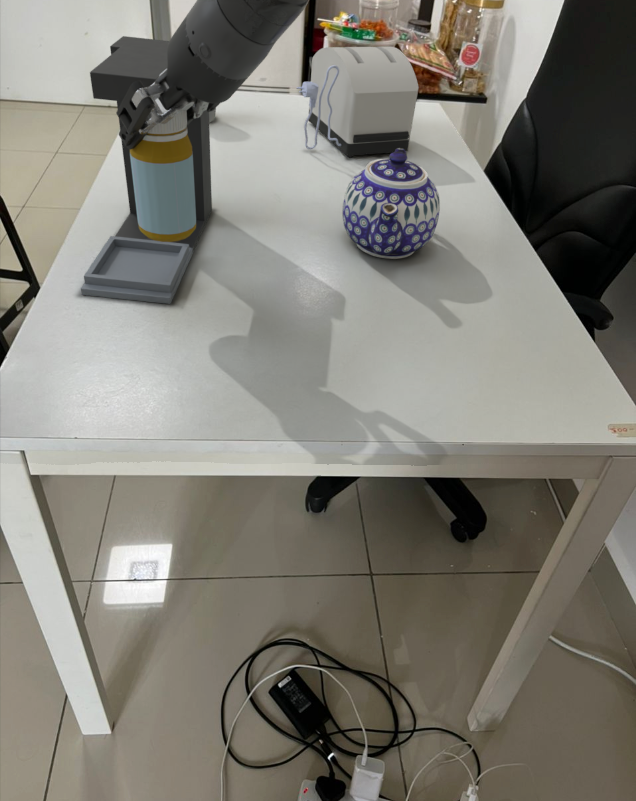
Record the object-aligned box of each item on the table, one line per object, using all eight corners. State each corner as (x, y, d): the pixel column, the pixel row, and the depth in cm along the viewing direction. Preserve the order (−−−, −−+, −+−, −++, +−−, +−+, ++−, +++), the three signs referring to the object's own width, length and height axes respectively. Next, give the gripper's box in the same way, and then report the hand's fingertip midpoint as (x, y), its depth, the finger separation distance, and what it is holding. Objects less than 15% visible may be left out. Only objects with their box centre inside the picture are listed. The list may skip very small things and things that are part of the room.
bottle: (158, 249, 76) (145, 118, 66) (128, 226, 80) (112, 99, 70) (207, 234, 80) (202, 108, 70) (177, 213, 84) (168, 90, 74)
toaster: (412, 156, 134) (429, 65, 123) (301, 165, 126) (308, 68, 114) (364, 118, 150) (375, 34, 138) (262, 124, 141) (264, 35, 130)
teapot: (353, 205, 114) (363, 118, 104) (436, 219, 112) (455, 132, 103) (324, 273, 95) (333, 176, 86) (423, 291, 94) (445, 194, 84)
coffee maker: (170, 304, 86) (153, 104, 69) (81, 294, 86) (43, 92, 69) (212, 210, 108) (206, 41, 91) (140, 202, 108) (122, 32, 91)
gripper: (253, -5, 64) (178, 92, 77) (142, 11, 55) (78, 117, 68) (291, 64, 66) (211, 148, 78) (189, 91, 57) (117, 181, 69)
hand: (149, 134), depth 73 cm, fingers closed on bottle, 6 cm apart
